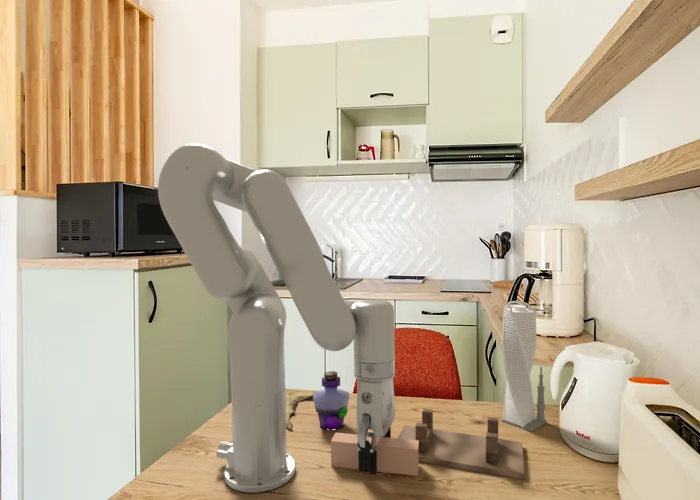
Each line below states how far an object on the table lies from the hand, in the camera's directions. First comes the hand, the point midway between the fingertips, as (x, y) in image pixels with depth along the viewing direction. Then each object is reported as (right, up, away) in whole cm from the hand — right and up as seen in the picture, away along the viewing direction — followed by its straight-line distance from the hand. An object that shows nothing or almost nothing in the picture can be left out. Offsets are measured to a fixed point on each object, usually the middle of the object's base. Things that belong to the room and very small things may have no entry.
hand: (375, 458), depth 81 cm
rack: (+16, -1, +5) cm, 17 cm away
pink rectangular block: (0, -2, 0) cm, 2 cm away
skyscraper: (+34, 0, +18) cm, 38 cm away
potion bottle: (-9, -1, +17) cm, 19 cm away
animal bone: (-18, -1, +25) cm, 31 cm away
